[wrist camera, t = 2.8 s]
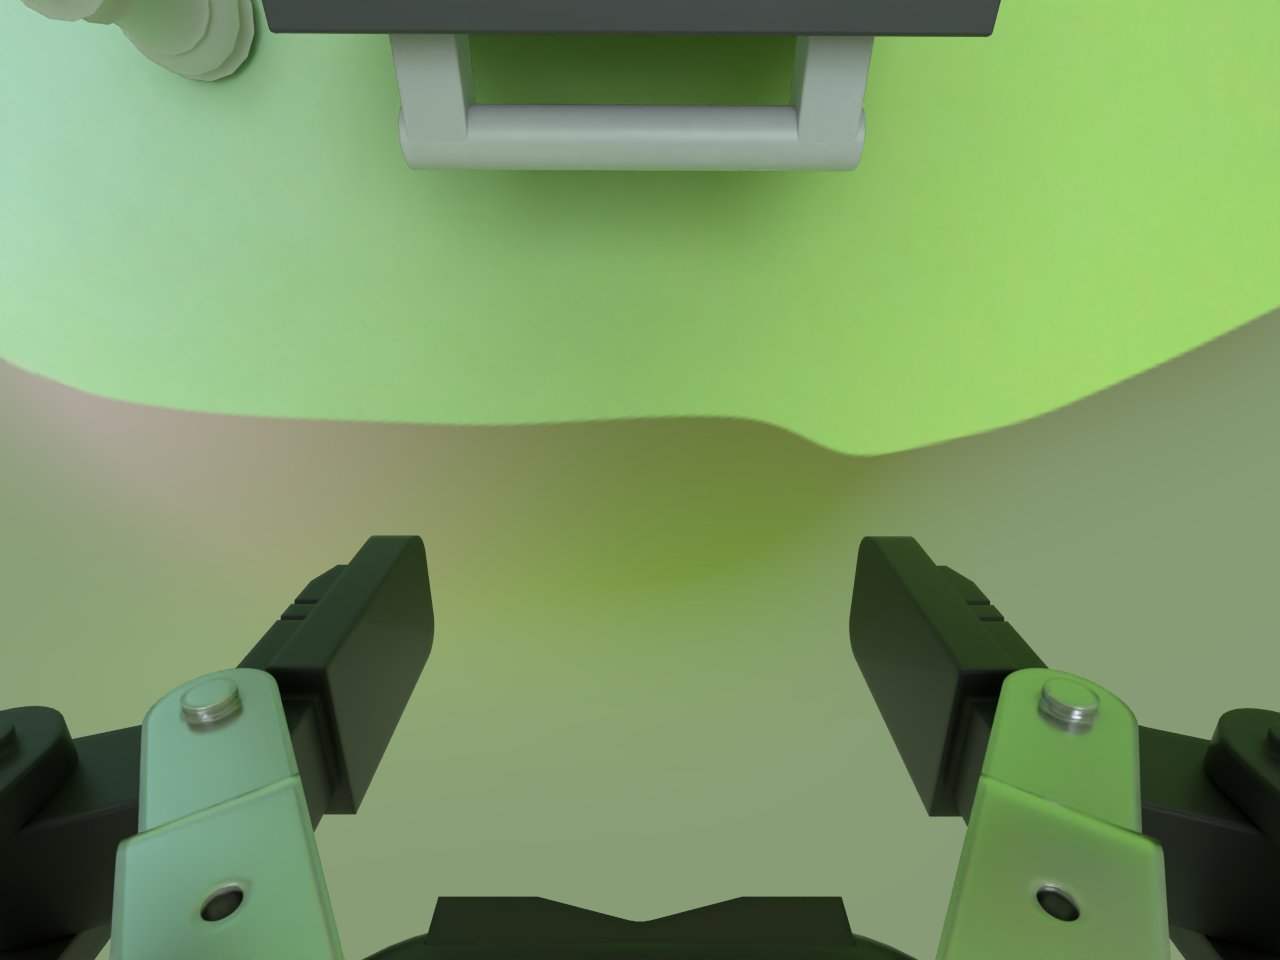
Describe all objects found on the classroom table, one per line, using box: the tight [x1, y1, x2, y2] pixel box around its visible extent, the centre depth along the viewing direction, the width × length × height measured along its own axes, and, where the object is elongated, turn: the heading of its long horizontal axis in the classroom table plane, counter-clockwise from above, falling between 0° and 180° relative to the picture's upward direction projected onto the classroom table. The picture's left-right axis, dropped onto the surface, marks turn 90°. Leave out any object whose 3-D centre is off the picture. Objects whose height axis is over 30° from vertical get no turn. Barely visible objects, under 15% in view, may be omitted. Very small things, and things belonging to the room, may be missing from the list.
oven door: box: [262, 0, 1001, 171], centre depth 21 cm, size 5×16×13 cm, turn 90°
